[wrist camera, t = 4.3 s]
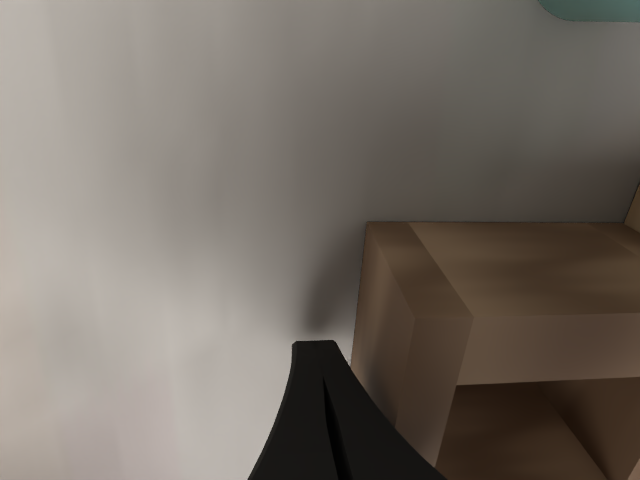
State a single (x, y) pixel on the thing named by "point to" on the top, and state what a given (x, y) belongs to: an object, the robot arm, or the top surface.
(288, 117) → the top surface
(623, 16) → the dowel
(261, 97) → the top surface
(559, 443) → the block
